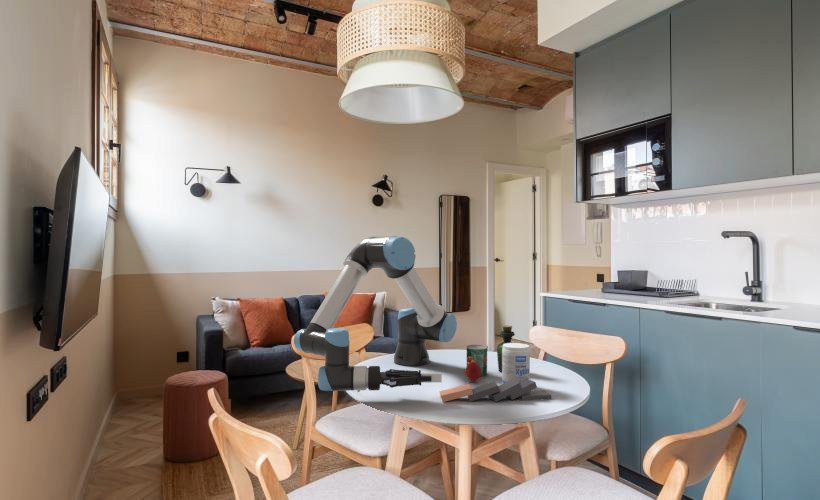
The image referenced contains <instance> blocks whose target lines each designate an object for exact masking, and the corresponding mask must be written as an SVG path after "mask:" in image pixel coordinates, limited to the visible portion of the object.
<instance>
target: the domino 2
mask: <svg viewBox="0 0 820 500" xmlns="http://www.w3.org/2000/svg"><path fill="white" fill-rule="evenodd" d="M498 387H499V390H500V392H497V393H494V394H491V395H489V396H488V398H489V399H490V400H492V401H493V402H494V403H497V402H499V401H501V400H503V399H505V398H506V396H508V395H510V394H512V393H514V392H516V391H518V390H520V389H521V388H522V386H521V384H520V382H518V381H516V380H514V379H511V380H509V381H507V382H506V383H504V384H502V383H501V384H500V385H498Z"/></svg>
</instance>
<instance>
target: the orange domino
mask: <svg viewBox="0 0 820 500" xmlns="http://www.w3.org/2000/svg"><path fill="white" fill-rule="evenodd" d="M472 389H473V388H472V387H471V385H470V383H467V384H462V385H459V386H455V387H449V388H447V389H442V390H440V391H438V393H439V396H440V399H441V402H442V403H445V402H449V401H453V400H456V399H459V398H460V399H461V398H465V397H468V396H469V395H472V394H473V392H472Z"/></svg>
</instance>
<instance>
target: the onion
mask: <svg viewBox="0 0 820 500" xmlns="http://www.w3.org/2000/svg"><path fill="white" fill-rule="evenodd" d="M464 373H465V377H466V378H467V379H468V380H469V381H470V382H471V383H475V382H477V381H478V380H479V379H481V378H480V376H481V369H480V367H479V366H478V364H476V363H475V362H474V361H473V360H471V363H470V364H469V365H468V366H467V365H466V366H465V370H464Z"/></svg>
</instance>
